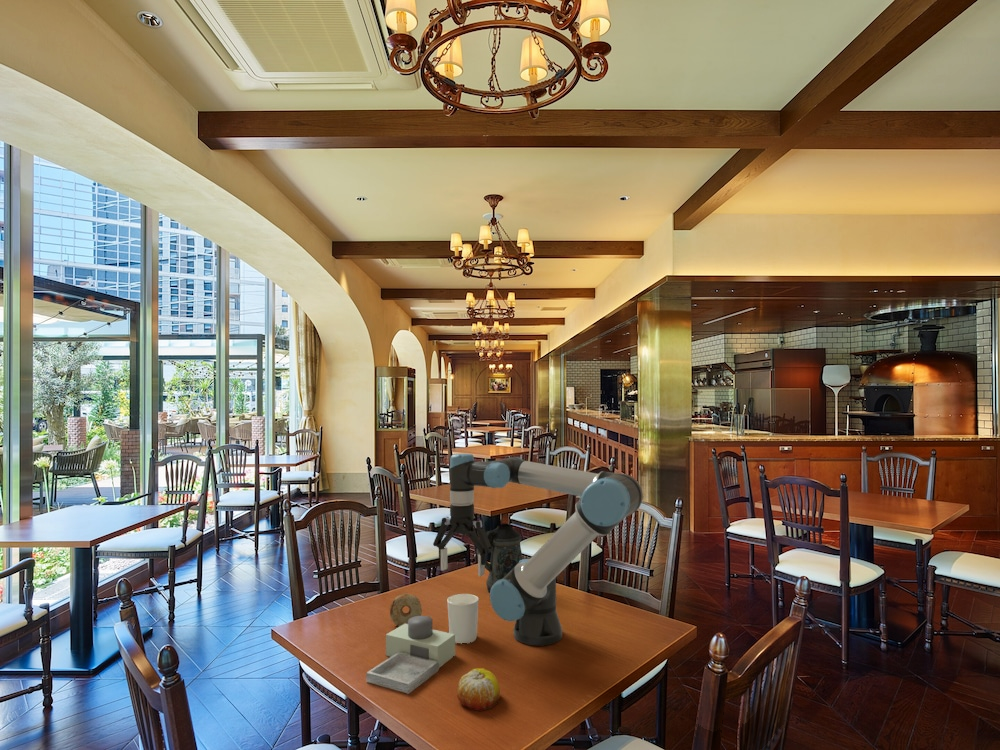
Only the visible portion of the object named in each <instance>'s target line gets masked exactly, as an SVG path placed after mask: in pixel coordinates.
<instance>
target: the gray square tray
mask: <svg viewBox="0 0 1000 750" xmlns="http://www.w3.org/2000/svg"><path fill="white" fill-rule="evenodd" d="M439 669H440V667H439V662H438V661H434V660H430V659H426V658H422V657H418V656H414V655H410V654H406V653H402V652H398V653H396V654H394V655H393V656H391V657H388V658H386V659H385V660H384V661H382V662H381V663H379V664H377V665H376V666H374V667H373V668H371V669H370V670H368V671H367V672H366V673H365V674H366V679H365V680H366V683H369V684H373V685H376V686H380V687H382V688H387V689H390V690H394V691H396V692H399V693H400V692H401V693H404V694H406V695H408V694H410V693H412V692H413V691H414V690H416V689H417V688H418V687H419V686H420V685H422V684H424V683H425V682H426V681H427V680H428V679H430V678H431V677H432V676H434V675H435V674H436V673H438V672H439V671H440V670H439Z"/></svg>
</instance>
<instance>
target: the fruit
mask: <svg viewBox="0 0 1000 750" xmlns="http://www.w3.org/2000/svg"><path fill="white" fill-rule="evenodd" d="M500 689H501V688H500V684H499V682H498V679H497V677H496V676H495V675H494V673H493V672H491V671H490V670H487V669H486V668H483V667H482V668H479V667H478V668H472V669H471V670H470V671H469V672H467V673H465V674H463V675H462V676H461V677H460V679H459V681H458V684H457V691H456V697H457V699H458V701H459V703H460V704H461V705H462V706H463V707H467V708H468V709H469V710H475V711H485V710H490V709H492V708H493V707H494V706H496V705H497V703H499V699H500V695H501V694H500V693H501V692H500V691H501V690H500Z"/></svg>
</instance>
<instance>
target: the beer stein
mask: <svg viewBox="0 0 1000 750" xmlns="http://www.w3.org/2000/svg"><path fill="white" fill-rule="evenodd" d="M485 532H486V534H487V537H488V539H489V542H490V544H491V546H492V549H493V550H492V551H491V552H490V553H491V554H490V561H487V563H486V564H485V569H486V571H488V576H487V579H486V583H485V584H486V589H487V593H489V594H490V590H491V588H492V586H493V585H494V584H495V583H496V581H498V580H500V579H503V578H504V577H505V576H506V575H507V574H508V573H509V572H510V571H511V570H512V569H513V568H514V567H515V566H516V565H517V564H518V563H519V561H520V560H523V553H522V548H521V541H522V535H521V534H520V532H518V531H516V529H514V528H513V527H512V526H511V524H510V523H509V524H508V523H502V524H497V527H496V528H494V529H491V530H488V531H485ZM478 554H480V552H479V551H478V549H477V548H476V557H477V558H478ZM489 562H490V563H489Z"/></svg>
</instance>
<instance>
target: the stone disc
mask: <svg viewBox="0 0 1000 750" xmlns="http://www.w3.org/2000/svg"><path fill="white" fill-rule="evenodd" d="M404 607H407V608H408V611H407V612H404V610H403V608H404ZM422 609H423V607H422V604H421V601H420V600H419V598H418V597H417V595H414V594H411V593H402V594H400V595H397V596H395V597H394V598H393V599H392V601H391V603H390V608H389V616H390V620H391V622H393V623H394V625H396V626H398V627H400V626H401V625H403V624H408V620H409V619H410V618H412V617H415V616H422V613H423V610H422Z"/></svg>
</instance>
